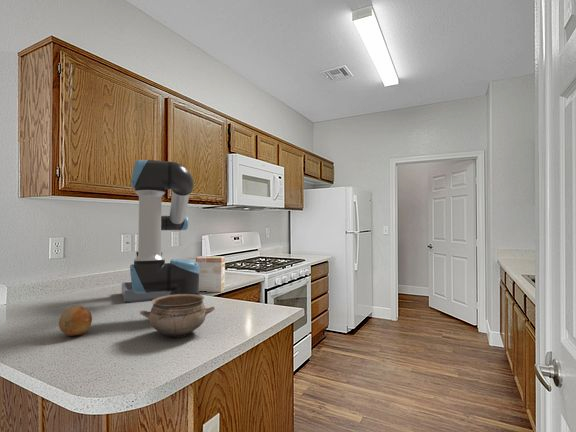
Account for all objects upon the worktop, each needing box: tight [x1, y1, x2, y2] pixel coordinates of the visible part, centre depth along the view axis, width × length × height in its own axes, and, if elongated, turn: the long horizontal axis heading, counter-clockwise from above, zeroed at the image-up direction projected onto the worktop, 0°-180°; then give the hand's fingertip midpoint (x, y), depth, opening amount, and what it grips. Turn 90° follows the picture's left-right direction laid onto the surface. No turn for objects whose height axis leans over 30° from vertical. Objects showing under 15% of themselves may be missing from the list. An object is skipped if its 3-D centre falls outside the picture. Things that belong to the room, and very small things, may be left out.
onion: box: [58, 305, 93, 337], centre depth 117 cm, size 10×10×10 cm
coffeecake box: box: [195, 255, 226, 293], centre depth 193 cm, size 15×7×20 cm, turn 84°
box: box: [121, 281, 170, 304], centre depth 180 cm, size 24×24×6 cm
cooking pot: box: [139, 294, 215, 338], centre depth 119 cm, size 25×19×12 cm
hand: (148, 283), depth 180 cm, fingers closed on mug, 8 cm apart
